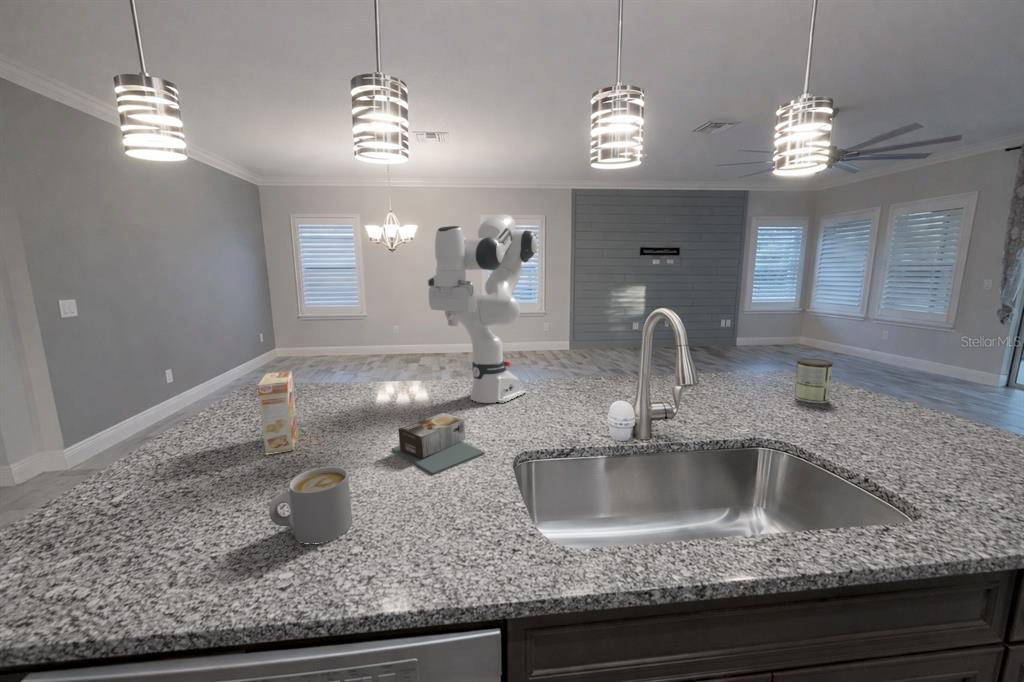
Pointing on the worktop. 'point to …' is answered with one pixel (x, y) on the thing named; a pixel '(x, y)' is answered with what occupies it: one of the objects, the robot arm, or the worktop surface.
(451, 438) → the coffee box
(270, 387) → the coffeecake box
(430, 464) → the mat
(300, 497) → the coffee mug
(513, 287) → the robot arm
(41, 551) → the worktop surface
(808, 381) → the coffee can
